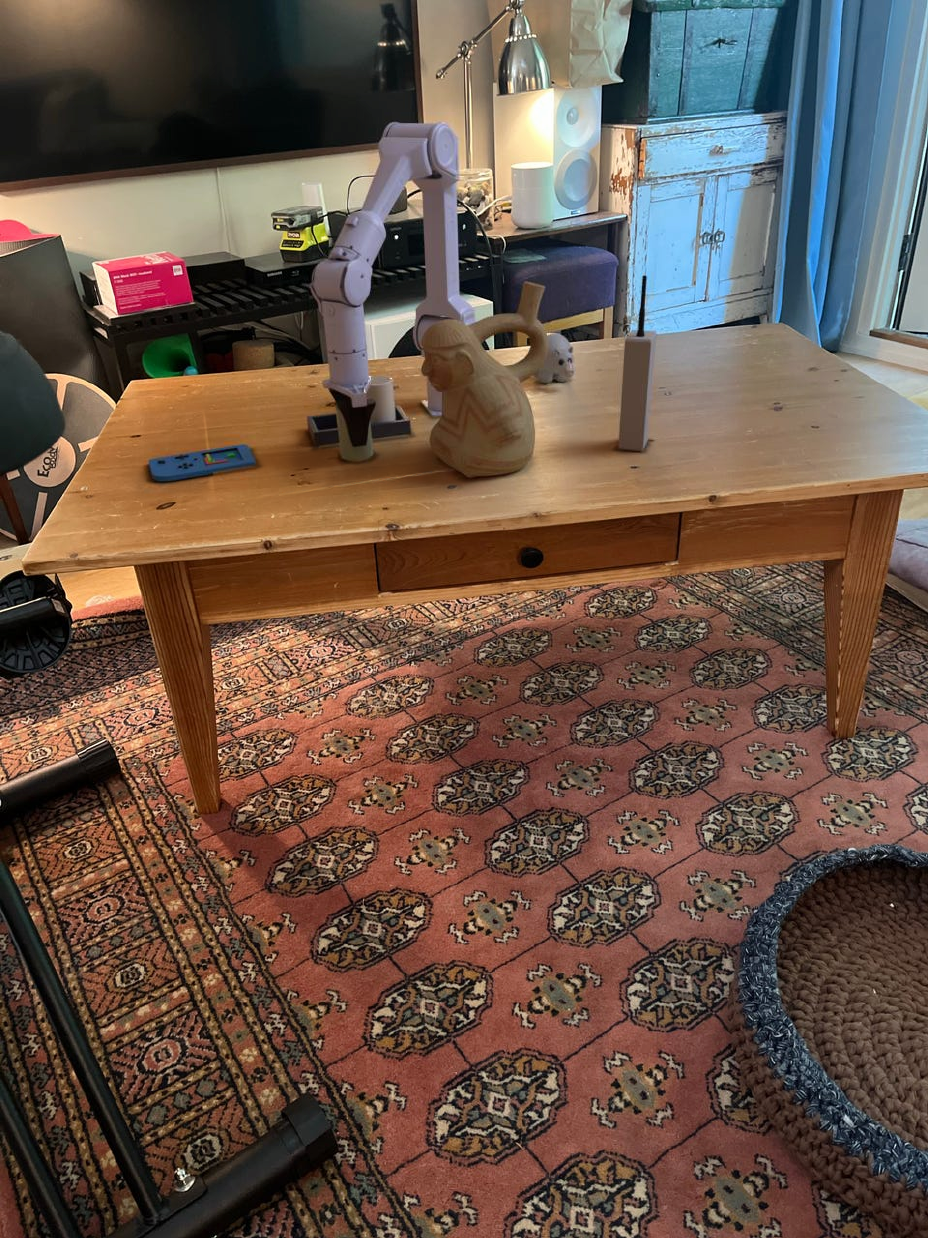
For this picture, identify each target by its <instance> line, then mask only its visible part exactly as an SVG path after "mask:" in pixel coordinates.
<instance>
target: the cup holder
mask: <svg viewBox="0 0 928 1238" xmlns="http://www.w3.org/2000/svg"><path fill="white" fill-rule="evenodd" d="M395 414H396V421H389V422H382V423H374V424H371V432H372V440H377V439H384V438H391V437H398V436H407V435H411V434H412V429H411V420H410V418H409V417H408V415H407V414H406V413H405V411H404V410H403V409H402V407H401V405H400V404H398V405H397V404H395ZM306 423H307V429H308V432H309V435H310V437H311V440H312V442H313V444H314V446H315V447H321V446H322V447H323V446H330V445H339V436H338V427H337V418H336V412H331V413H324V414H316V415H307V416H306Z"/></svg>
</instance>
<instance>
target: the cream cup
mask: <svg viewBox="0 0 928 1238" xmlns="http://www.w3.org/2000/svg"><path fill="white" fill-rule="evenodd" d="M369 376H370V377H371V384H370V386H369V388H368V390H367V392H366V399H375V401H376V406H375V408H374V410H373V413H372V415H371V419H370V421H371V424H374V423H382V422H389V421H396V414H395V406H396V403H395V389H394V378H393V377H391V376H388V375H369Z"/></svg>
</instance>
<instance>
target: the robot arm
mask: <svg viewBox="0 0 928 1238" xmlns="http://www.w3.org/2000/svg"><path fill="white" fill-rule="evenodd" d="M377 146H378V148H377V149H378V150H377V151H378V157H379V163H378V166H377V169H376V171H375V174H374V176H373V179H372V181H371V184H370V186H369V188H368V192H367V194H366V197H365V199H364V202H363V204H362V207H361V210H359V211H353V212H351V213H350V214H349V215H348V216H347V217H346V220H345V221H344V225H343V227H342V229H341V231H340V233H339V235H338V237H337V239H336V241H335V243H334V246H333V248H332V249H331V251H330V254H329V255H328V258H326V259H323V260H321V261H320V262H319V263H318V264H317V265H316V266H315V268H314V269H313V271H312V275H311V283H309V287H310V291H311V294H312V296H313V298H314V299H315V300H316V302H317V305H318V312H319V313H320V315H321V316H322V318H323V319H322V320H323V326H324V328H323V329H324V337H325V346H326V354H327V362H328V372H329V378H328V379H323V380H322V381H321V382H322V383H321V384H322V387H323V388H324V389H327V390H328V392H329V393H330V395H331V396H332V398H333V400H334V402H335V405H336V406H337V407H338V408H339V410H340V411H341V413H342V415H343V417H344V420H345V423H346V426H347V430H348V435H349V438H350V441H351V444H352V446H353V447H358V446H366V444H367V439H368V431H369V423H370V419H371V415H372V413H373V410H374V408H375V406H376V401H375V399H366V392H367V390H368V388H369V386H370V384H371V377H370V376H371V375H370V370H369V369H370V368H369V357H368V356H369V355H368V346H367V333H366V324H365V323H366V322H365V312H364V302H365V301H366V300H367V298H368V297H369V296H370V292H371V288H372V286H371V285H372V281H371V280H372V275H373V267H372V266H373V265H374V262H375V260H376V258H377V257H378V254H379V252H380V250H381V247H382V245H383V244H384V242H385V240H386V238H387V232H386V229H385V226H384V223H385V220H386V219H387V217H388V216H389V214H390V212H391V210H392V208H393V207H394V206H395V204H396V202H397V200H398V199H399V197H400V195H401V194H402V192H403V190H404V188H405V187H406V186H407V183H409V182H412V183H413V184H415V186H416V187H417V188H418V189H419V190H420V191H421V195H422V197H421V198H422V218H423V219H422V220H423V241H424V261H425V262H424V263H425V266H424V267H425V285H426V287H425V288H426V298H425V299H423V301H421V302H420V304H418V305H417V306H416V307H415V320H414V325H413V329H412V338H413V342H414V345H415V348H416V349H417V350H418V351H420V354H421V357H422V358H425V354H424V347H423V346H422V344H421V340H422V337H423V335H424V333H425V331H426V330H427V329H428V328H429V327H430V326H431V325H433V324H434V323H436V322H438V321H441V320H446V319H453V320H458V321H460V322H462V323H464V324H465V325H467V326H468V325H471V324H473V323H475V322H477V321H476V313H475V312H476V310H475V308H474V306H472V305H471V304H470V303H469V302H468V301H467V300H466V299H464V298H463V297H462V296H461V294H460V267H459V264H460V263H459V232H458V231H459V229H458V195H457V194H458V193H457V192H458V191H457V182H459V180H460V162H459V158H460V157H459V137H458V135H457V134H456V133H455V132H454V130H453V128H451V126H450V125H449V124H448V123H446V122H444V121H443V122H442V121H440V122H436V123H434V122H433V123H431V122H430V123H429V122H428V123H427V122H426V123H425V122H424V123H421V122H420V123H419V122H418V123H415V122H414V123H413V122H412V123H410V122H407V123H403V122H397V121H393V122H390V123H388V124H387V125H386V127H385V128H384V130H383V132H382V135H381V139H380V140H379V142H378V143H377ZM425 377H426V395H427V399H424V400H421V404H422V405H423V406H424V408H425V409H426V410H427V412H428V413H429V414H430V415H431V416H432V417H435V416H442V392H438V391H437V390H436V389H435V388H434V387H433V386H431V383H430V381H429V380H428V376H425Z"/></svg>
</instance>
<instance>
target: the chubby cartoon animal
mask: <svg viewBox="0 0 928 1238" xmlns="http://www.w3.org/2000/svg"><path fill="white" fill-rule="evenodd" d="M547 337H548V344H549V345H548V352H547V355H546V358H545V361H544V363H543V364H542V366H541V368H540V369H539V370H538V371H537V372H536V373H535V374H534V375H533V376H532V377H534V378H538V381H539V383H542V384H550V383H552V382H553V379H555V381H556V382H561V383H563V382H567V381H568V380H569V379H571V378H573V377H574V375H575V371H576V370H575V367H574V364H575V357H574V354H573V353H574V347H573V346H572V345H571V343H570V341H569V340H568V339H567V338H566V337H565V336H564V335H562V334H560V333H557V332H549V333H547Z"/></svg>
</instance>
